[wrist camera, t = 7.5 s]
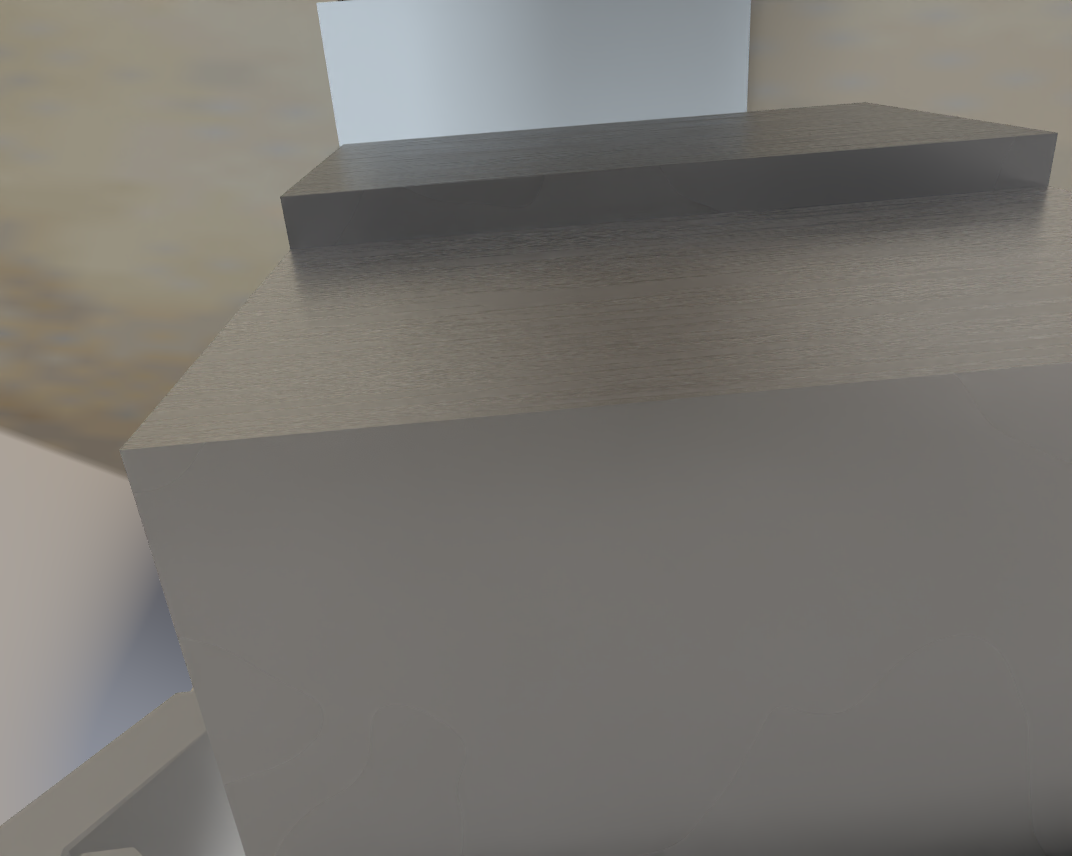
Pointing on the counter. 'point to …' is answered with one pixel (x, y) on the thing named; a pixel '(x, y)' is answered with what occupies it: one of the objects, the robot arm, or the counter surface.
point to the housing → (640, 496)
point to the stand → (529, 63)
